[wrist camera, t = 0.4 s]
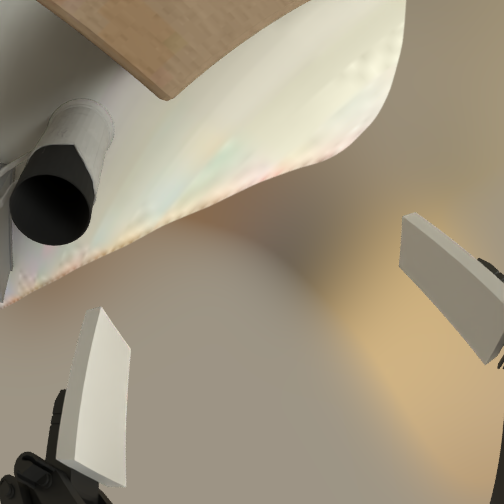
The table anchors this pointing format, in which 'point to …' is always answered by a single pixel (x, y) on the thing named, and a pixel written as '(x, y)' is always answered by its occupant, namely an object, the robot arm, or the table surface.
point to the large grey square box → (5, 232)
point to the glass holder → (61, 174)
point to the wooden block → (168, 33)
